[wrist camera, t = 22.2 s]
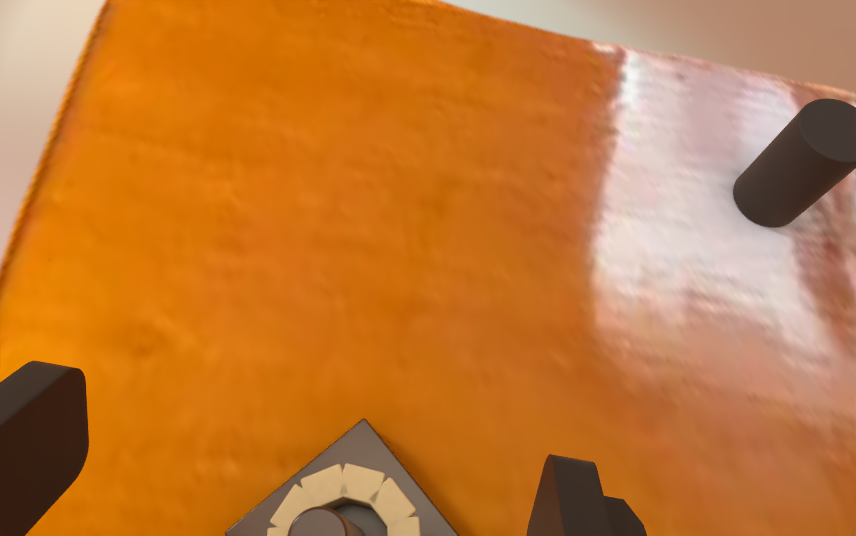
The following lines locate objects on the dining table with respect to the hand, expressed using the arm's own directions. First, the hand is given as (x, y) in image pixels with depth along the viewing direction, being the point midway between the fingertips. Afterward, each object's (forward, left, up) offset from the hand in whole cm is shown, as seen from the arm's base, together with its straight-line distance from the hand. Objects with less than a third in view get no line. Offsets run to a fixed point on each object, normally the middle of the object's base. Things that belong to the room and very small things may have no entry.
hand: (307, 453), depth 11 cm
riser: (-30, +2, -21) cm, 37 cm away
